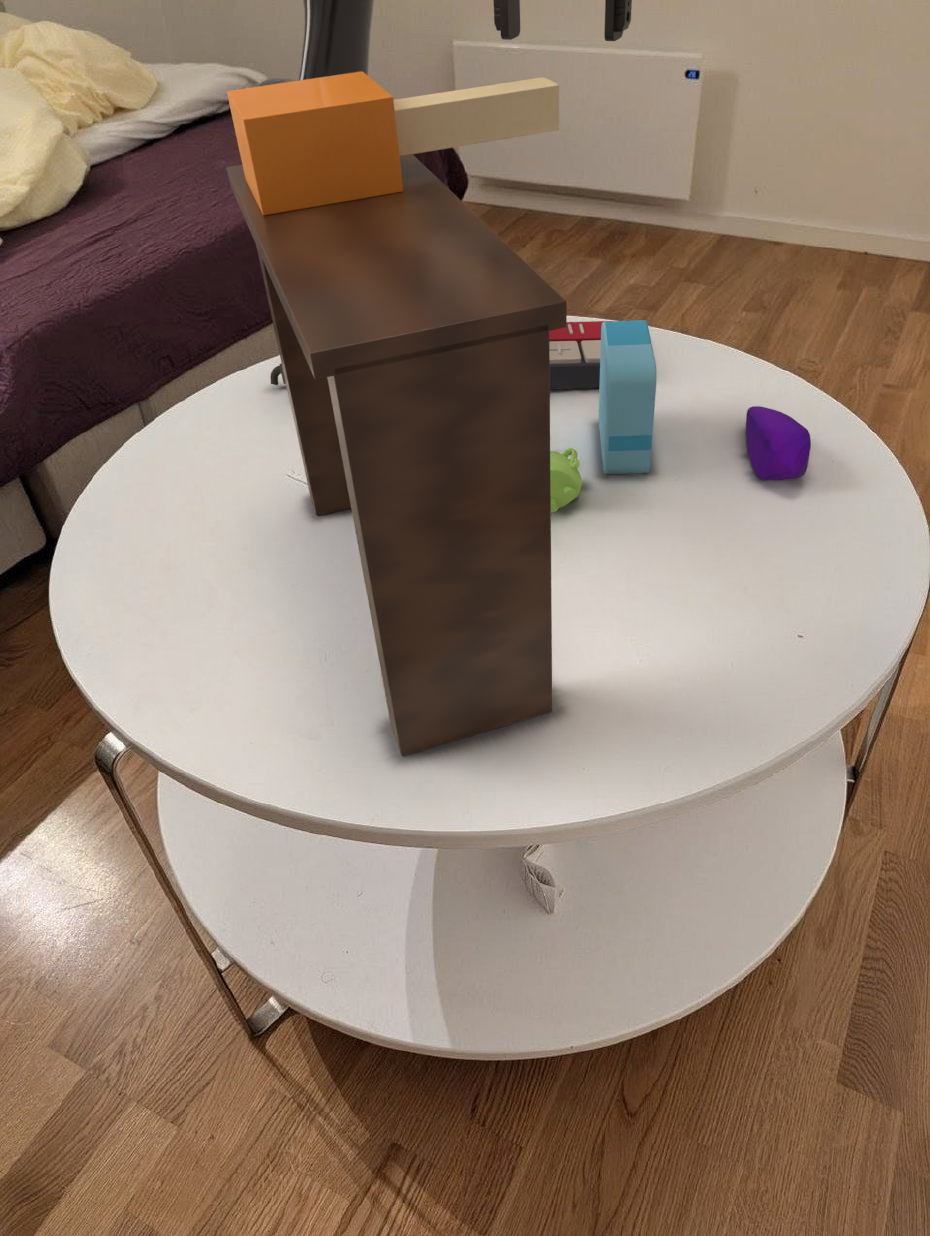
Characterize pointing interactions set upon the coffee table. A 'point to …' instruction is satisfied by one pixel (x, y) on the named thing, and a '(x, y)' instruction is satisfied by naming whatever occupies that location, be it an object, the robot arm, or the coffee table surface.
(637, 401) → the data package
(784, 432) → the crystal
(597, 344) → the calculator
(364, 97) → the toy hammer
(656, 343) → the coffee table surface
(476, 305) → the shelf
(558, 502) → the whimsical teapot
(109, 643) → the coffee table surface
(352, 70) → the robot arm
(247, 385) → the coffee table surface
